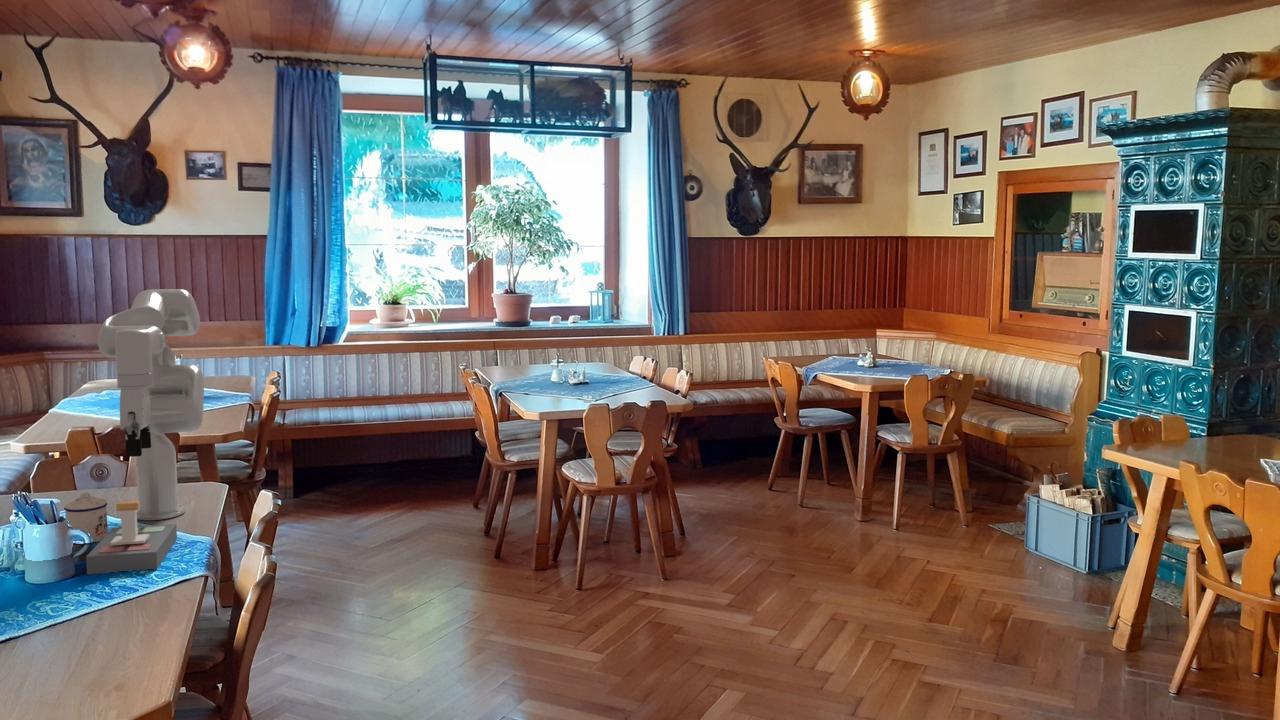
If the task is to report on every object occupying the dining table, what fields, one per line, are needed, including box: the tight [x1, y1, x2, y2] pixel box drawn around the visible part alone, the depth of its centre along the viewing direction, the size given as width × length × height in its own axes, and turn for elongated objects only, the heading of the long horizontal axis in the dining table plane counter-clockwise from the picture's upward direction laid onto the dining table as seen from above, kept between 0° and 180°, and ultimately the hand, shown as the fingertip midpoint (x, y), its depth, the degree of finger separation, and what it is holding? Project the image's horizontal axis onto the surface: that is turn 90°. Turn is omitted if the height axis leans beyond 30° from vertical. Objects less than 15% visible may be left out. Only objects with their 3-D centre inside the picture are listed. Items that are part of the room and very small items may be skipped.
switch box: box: [85, 523, 178, 575], centre depth 220 cm, size 22×14×4 cm, turn 15°
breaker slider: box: [110, 500, 150, 545], centre depth 216 cm, size 5×7×9 cm
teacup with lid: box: [64, 491, 109, 544], centre depth 233 cm, size 12×9×12 cm
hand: (139, 452), depth 227 cm, fingers open, 9 cm apart
